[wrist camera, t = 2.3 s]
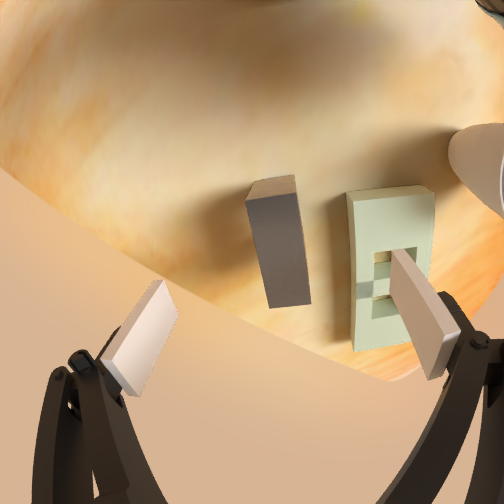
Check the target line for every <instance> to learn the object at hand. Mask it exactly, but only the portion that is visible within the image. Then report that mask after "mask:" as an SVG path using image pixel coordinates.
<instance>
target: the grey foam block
mask: <svg viewBox="0 0 504 504" xmlns="http://www.w3.org/2000/svg"><path fill="white" fill-rule="evenodd" d="M245 202H246V207H247V211H248V215H249V220H250V224H251V229H252V233H253V238H254V242H255V247H256V251H257V255H258V260H259V264H260V269H261V273H262V278H263V282H264V287H265V291H266V296H267V300H268V305H269V309H270V308H280V307H289V306H299V305H307V304H311V296H310V286H309V276H308V267H307V259H306V250H305V242H304V235H303V227H302V222H301V216H300V209H299V203H298V195H297V189H296V183H295V177H294V175H288V176H281V177H275V178H269V179H263V180H261V181H255V182H254V184H253V186H252V188H251V190H250V192H249V194H248V196H247V198H246V200H245Z"/></svg>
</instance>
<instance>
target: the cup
mask: <svg viewBox="0 0 504 504" xmlns="http://www.w3.org/2000/svg"><path fill="white" fill-rule="evenodd" d="M448 160H449V163H450V166H451V168H452V170H453V171H454V172H455V174H456V175H457V176H458V177H459V179H460V180H461V181H462V183H463V184H464V185H465V186H466V187H467V188H468V189H469V190H470V191H471V192H472V193H474V194H475V195H476V196H477V197H478V198H479V199H480V200H481V201H482V202H483V203H484V204H485V205H486V206H488V207H489V208H490V209H492V210H493V211H494V212H496V213H497V214H498V215H499V216H501V217H502V218H503V219H504V123H489V124H481V125H473V126H470V127H468V128H465V129H463V130H461V131H458V132H457V133H455V134H454V135H453V136H452V138H451V140H450V142H449V146H448Z"/></svg>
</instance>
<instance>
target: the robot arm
mask: <svg viewBox="0 0 504 504" xmlns="http://www.w3.org/2000/svg"><path fill="white" fill-rule="evenodd" d="M475 1H476V3H477V4H478V6H479V7H480V8H481V9H482V10H483V11H484V12H485V13H486V14H488V15H489V16H491V17H493V18H494V19H495V20H496V21H497V23H498V24H499V25H500V26H501V27H502V28H503V29H504V0H475ZM389 293H390V295H391V297H392V299H393V301H394V303H395V305H396V307H397V309H398V311H399V314H400V316H401V318H402V320H403V322H404V324H405V327H406V329H407V331H408V333H409V336H410V338H411V340H412V343H413V345H414V347H415V350H416V352H417V355H418V357H419V360H420V362H421V365H422V367H423V370H424V372H425V375H426V378H427V380H431V379H435V378H438V377H441V376H442V375H443V374H444V371H445V369H446V368H447V370H448V372H449V376H448V378H447V380H446V382H445V384H444V386H443V390H442V393H441V395H440V397H439V400H438V402H437V404H436V406H435V408H434V411H433V413H432V415H431V417H430V419H429V421H428V423H427V425H426V427H425V429H424V431H423V433H422V434H421V436H420V438H419V440H418V442H417V443H416V445H415V447H414V449H413V450H412V452H411V454H410V455H409V457H408V459H407V460H406V462H405V463H404V465H403V466H402V468H401V469H400V471H399V472H398V474H397V475H396V477H395V478H394V480H393V481H392V483H391V484H390V485H389V487H388V488H387V489H386V491H385V492H384V493H383V495H382V496H381V497H380V499H379V500H378V501H377V502H376V504H432V502H433V500H434V499H435V497H436V496H437V494H438V492H439V490H440V489H441V487H442V485H443V483H444V482H445V480H446V478H447V476H448V474H449V472H450V470H451V468H452V466H453V464H454V462H455V460H456V458H457V456H458V454H459V452H460V449H461V447H462V445H463V442H464V440H465V438H466V435H467V433H468V430H469V427H470V425H471V422H472V419H473V416H474V413H475V410H476V407H477V404H478V401H479V397H480V394H481V390H482V387H483V386H484V394H483V412H482V423H481V430H480V438H479V445H478V451H477V456H476V461H475V466H474V470H473V474H472V478H471V482H470V486H469V490H468V493H467V496H466V500H465V503H464V504H504V339H490V338H489V336H487V335H486V334H485V333H484V332H481V331H475V329H474V328H473V326H472V325H471V323H470V321H469V320H468V318H467V317H466V315H465V314H464V312H463V311H461V308H460V306H459V305H457V302H456V301H455V299H454V298H453V297H452V296H451V295H449V294H448V293H447V292H445V291H443V292H439V293H436V291H435V290H434V288H433V287H432V285H431V284H430V283H429V281H428V280H427V278H426V277H425V276H424V274H423V273H422V272H421V270H420V269H419V268H418V266H417V265H416V264H415V262H414V261H413V260H412V258H411V257H410V256H409V254H408V253H407V252H406V251H405V249H399V250H392V255H391V274H390V288H389ZM178 316H179V314H178V312H177V310H176V307H175V305H174V303H173V301H172V298H171V296H170V293H169V291H168V289H167V286H166V284H165V281H164V280H157V281H153V282H152V284H151V285H150V286H149V288H148V289H147V290H146V292H145V293H144V295H143V296H142V297H141V299H140V300H139V302H138V303H137V304H136V306H135V307H134V309H133V310H132V312H131V313H130V314H129V316H128V317H127V319H126V320H125V322H124V323H123V325H122V326H120V327H119V328H117V329H116V330H115V331H114V332H113V334H112V335H111V337H110V339H109V340H108V341H107V343H106V345H105V346H104V347H103V349H102V350H101V351H100V353H99V355H98V356H97V358H96V359H95V361H94V359H93V358H92V357H91V355H90V354H89V352H88V351H87V350H78V351H77V352H75V353H73V354H72V355H71V357H70V358H69V360H68V365H69V366H70V367H71V368H72V369H73V371H74V372H72V373H70V372H69V371H68V369H67V368H66V367H64V366H60V367H58V368H56V369H55V370H54V371H53V372H52V373H51V375H50V378H49V382H48V386H47V390H46V393H45V398H44V402H43V407H42V411H41V416H40V421H39V427H38V433H37V439H36V447H35V454H34V464H33V478H32V503H31V504H168V503H167V502H166V500H165V498H164V496H163V495H162V492H161V490H160V488H159V486H158V484H157V482H156V480H155V478H154V476H153V474H152V472H151V470H150V468H149V465H148V463H147V461H146V459H145V456H144V454H143V452H142V449H141V447H140V444H139V442H138V439H137V436H136V434H135V431H134V428H133V426H132V423H131V420H130V417H129V414H128V411H127V408H126V405H125V402H124V399H123V396H122V395H121V394H120V392H121V390H122V388H123V390H124V391H125V392H126V393H127V394H128V395H129V396H135V397H140V396H141V394H142V392H143V389H144V387H145V385H146V383H147V381H148V379H149V377H150V374H151V372H152V370H153V368H154V366H155V364H156V362H157V359H158V357H159V355H160V353H161V351H162V349H163V347H164V345H165V343H166V341H167V338H168V337H169V335H170V332H171V331H172V328H173V326H174V324H175V322H176V320H177V318H178ZM68 402H69V403H70V404H71V409H70V408H69V407H68ZM92 470H93V473H94V477H95V480H96V484H97V487H98V490H99V496H98V497H96V498H95V499H94V494H93V477H92Z"/></svg>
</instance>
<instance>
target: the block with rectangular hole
mask: <svg viewBox="0 0 504 504" xmlns="http://www.w3.org/2000/svg"><path fill="white" fill-rule="evenodd" d="M346 199H347V210H348V223H349V240H350V263H351V327H350V336H351V341H352V346H353V351H354V352H359V351H365V350H371V349H376V348H382V347H387V346H392V345H397V344H402V343H406V342H411V341H412V340H411V338H410V336H409V333H408V331H407V329H406V327H405V324H404V322H403V320H402V318H401V316H400V314H399V311H398V309H397V307H396V305H395V303H394V301H393V299H392V298H388V299H382V300H376V301H373V297H377V296H383V295H389V294H390V293H389V288H390V274H391V261H388V262H382V263H375V264H374V253H377V252H384V251H391V250H398V249H405V251H406V252H407V253H408V254H409V256H410V257H411V258H412V260H413V261H414V262H415V264H416V265H417V266H418V268H419V269H420V270H421V272H422V273H423V274H424V276H425V277H426V278H427V280H428V276H429V270H430V262H431V254H432V244H433V233H434V218H435V193H434V192H432V191H431V190H429V189H427V188H426V187H424V186H422V185H411V186H400V187H389V188H379V189H369V190H360V191H351V192H346Z"/></svg>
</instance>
